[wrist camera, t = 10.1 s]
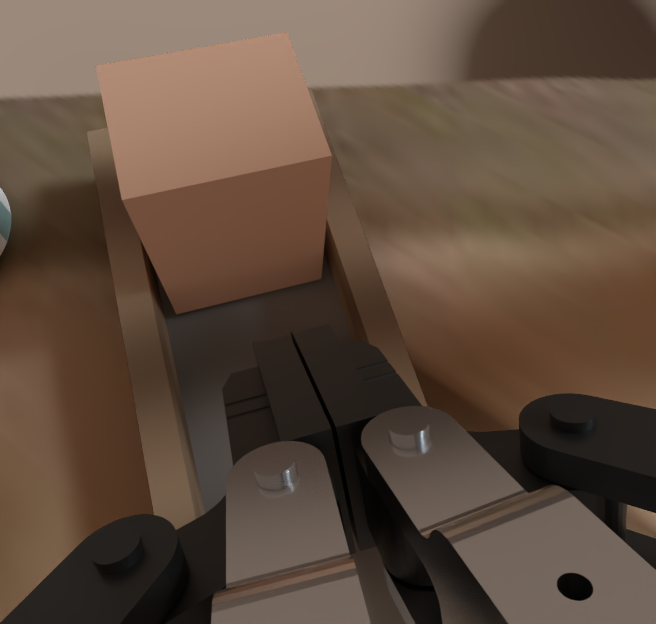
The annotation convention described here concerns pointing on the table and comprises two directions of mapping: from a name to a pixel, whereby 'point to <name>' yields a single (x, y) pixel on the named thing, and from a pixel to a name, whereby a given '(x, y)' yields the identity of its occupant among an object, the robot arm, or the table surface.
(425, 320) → the table surface
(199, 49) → the block
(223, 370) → the chute
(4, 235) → the can
